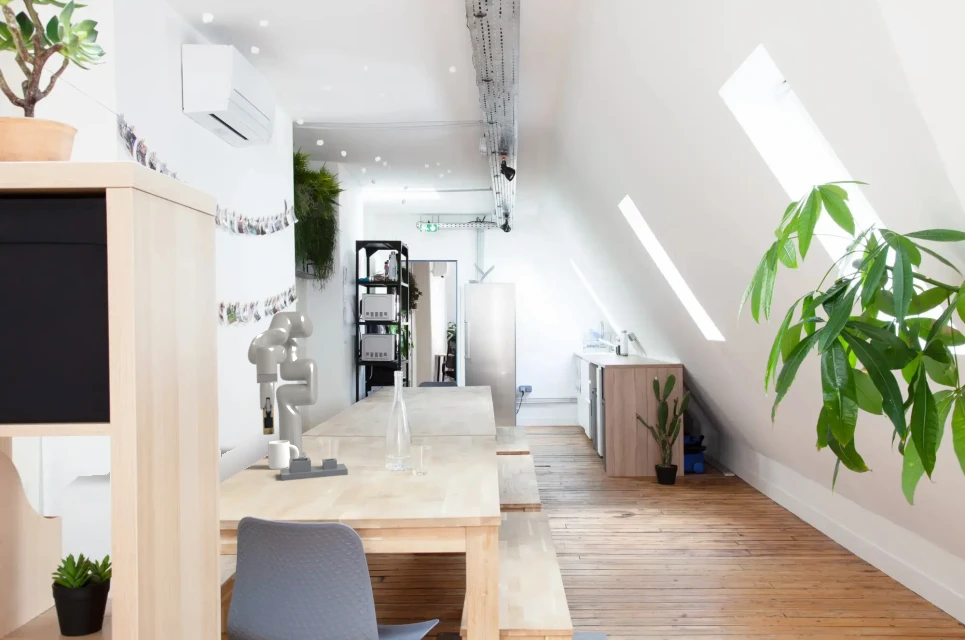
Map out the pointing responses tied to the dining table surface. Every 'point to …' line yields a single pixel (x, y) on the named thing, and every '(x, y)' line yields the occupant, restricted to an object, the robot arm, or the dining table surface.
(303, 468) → the fitting block
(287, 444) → the mug
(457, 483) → the dining table surface
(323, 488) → the dining table surface
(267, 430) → the pipe stub
